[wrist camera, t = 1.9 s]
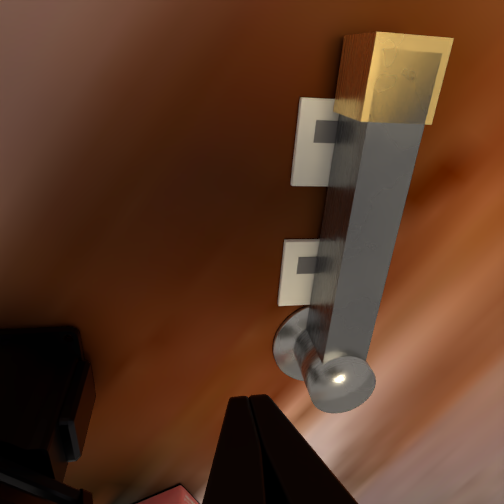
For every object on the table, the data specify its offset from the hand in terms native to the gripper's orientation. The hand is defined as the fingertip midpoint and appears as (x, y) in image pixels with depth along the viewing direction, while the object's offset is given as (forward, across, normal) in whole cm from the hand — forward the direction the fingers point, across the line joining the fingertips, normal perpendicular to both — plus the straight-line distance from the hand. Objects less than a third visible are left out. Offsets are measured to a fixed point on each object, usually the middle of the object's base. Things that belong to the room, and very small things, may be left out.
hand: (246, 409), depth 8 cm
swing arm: (+12, -7, +1) cm, 14 cm away
